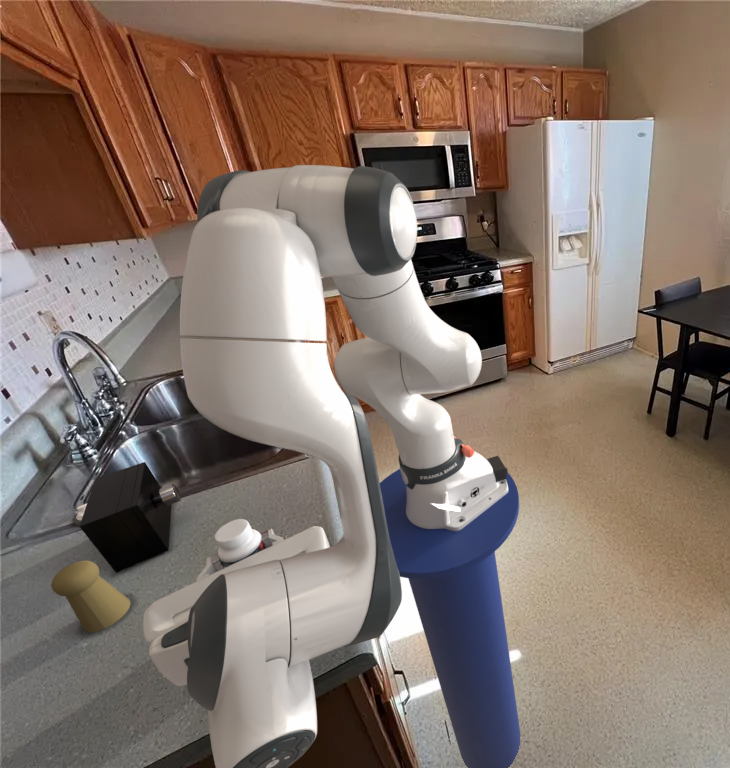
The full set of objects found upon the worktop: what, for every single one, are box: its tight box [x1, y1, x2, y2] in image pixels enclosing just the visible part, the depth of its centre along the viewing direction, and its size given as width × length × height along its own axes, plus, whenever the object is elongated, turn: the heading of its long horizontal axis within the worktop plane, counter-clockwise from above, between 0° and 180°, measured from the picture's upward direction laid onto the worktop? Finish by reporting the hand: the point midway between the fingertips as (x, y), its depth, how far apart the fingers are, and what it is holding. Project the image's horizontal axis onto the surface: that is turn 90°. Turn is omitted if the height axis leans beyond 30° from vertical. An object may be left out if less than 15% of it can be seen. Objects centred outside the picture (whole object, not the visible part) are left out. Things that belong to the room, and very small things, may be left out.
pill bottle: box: [214, 518, 266, 568], centre depth 57 cm, size 5×5×9 cm
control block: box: [78, 461, 173, 574], centre depth 81 cm, size 8×16×12 cm, turn 35°
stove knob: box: [72, 503, 87, 527], centre depth 90 cm, size 7×7×3 cm
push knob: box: [150, 483, 182, 506], centre depth 83 cm, size 5×4×4 cm
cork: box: [50, 560, 131, 634], centre depth 66 cm, size 6×6×11 cm
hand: (241, 546), depth 58 cm, fingers closed on pill bottle, 5 cm apart
